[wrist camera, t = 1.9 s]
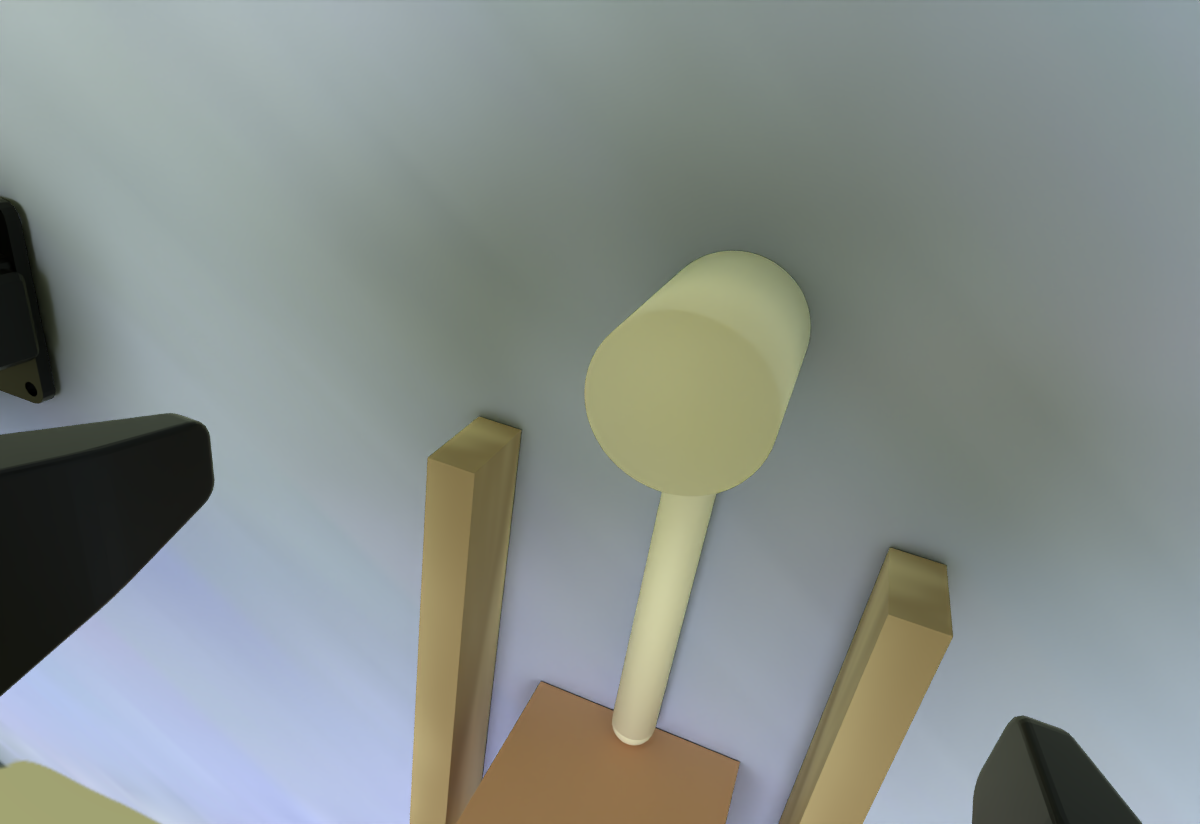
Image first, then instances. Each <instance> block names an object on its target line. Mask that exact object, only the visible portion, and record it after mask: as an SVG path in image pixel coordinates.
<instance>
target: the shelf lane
mask: <svg viewBox="0 0 1200 824" xmlns="http://www.w3.org/2000/svg"><path fill="white" fill-rule="evenodd" d="M520 439H521V430H520V429H517V428H514V427H510V426H507V425H504V424H501V423H498V422H495V421H492V420H488V419H485V418H482V417H478V418H476V419H475V420H474V421H473V422H471V423H470V424H469V425H468V426H466V427H465V428H464V429H463V430H461V431H460V432H459V433H458V434H456V435H455V436H454V437H453V438H452V439H450V440H449V441H448V442H447V443H445V444H444V445H443V446H442V447H440V448H439V449H438V450H437V451H435V452H434V453H433V454H432V455H430V456H429V457H428V462H427V482H426V502H425V523H424V543H423V564H422V584H421V604H420V625H419V645H418V665H417V686H416V706H415V727H414V747H413V767H412V788H411V808H410V824H456V823H457V821H458V820H459V818H460V816H461V815H462V813H463V811H464V810H465V808H466V806H467V805H468V803H469V801H470V799H471V798H472V796H473V794H474V793H475V791H476V789H477V788H478V786H479V784H480V783H481V781H482V774H483V765H484V756H485V747H486V738H487V730H488V721H489V712H490V703H491V694H492V685H493V677H494V668H495V659H496V650H497V641H498V633H499V624H500V615H501V606H502V597H503V589H504V580H505V571H506V562H507V553H508V544H509V536H510V527H511V518H512V509H513V500H514V492H515V483H516V474H517V465H518V456H519V447H520ZM952 638H953V631H952V620H951V609H950V598H949V587H948V576H947V565H944V564H941V563H937V562H934V561H931V560H928V559H925V558H922V557H919V556H915V555H912V554H909V553H906V552H903V551H900V550H897V549H893V548H889V551H888V553H887V555H886V558H885V560H884V563H883V565H882V568H881V570H880V573H879V575H878V578H877V580H876V583H875V585H874V588H873V590H872V593H871V595H870V598H869V600H868V603H867V605H866V608H865V610H864V613H863V615H862V618H861V620H860V623H859V625H858V627H857V630H856V632H855V635H854V637H853V640H852V642H851V645H850V647H849V650H848V652H847V655H846V657H845V660H844V662H843V665H842V667H841V670H840V672H839V675H838V677H837V680H836V682H835V685H834V687H833V690H832V692H831V695H830V697H829V699H828V702H827V704H826V707H825V709H824V712H823V714H822V717H821V719H820V722H819V724H818V727H817V729H816V732H815V734H814V737H813V739H812V742H811V744H810V747H809V749H808V752H807V754H806V757H805V759H804V762H803V764H802V767H801V769H800V771H799V774H798V776H797V779H796V781H795V784H794V786H793V789H792V791H791V794H790V796H789V799H788V801H787V804H786V806H785V809H784V811H783V814H782V816H781V819H780V821H779V824H863V822H864V820H865V818H866V815H867V813H868V811H869V809H870V807H871V805H872V803H873V801H874V799H875V797H876V795H877V793H878V791H879V789H880V787H881V784H882V782H883V780H884V778H885V776H886V774H887V772H888V770H889V768H890V766H891V764H892V762H893V760H894V758H895V755H896V753H897V751H898V749H899V747H900V745H901V743H902V741H903V739H904V737H905V735H906V733H907V731H908V729H909V727H910V724H911V722H912V720H913V718H914V716H915V714H916V712H917V710H918V708H919V706H920V704H921V702H922V700H923V698H924V695H925V693H926V691H927V689H928V687H929V685H930V683H931V681H932V679H933V677H934V675H935V673H936V671H937V669H938V667H939V664H940V662H941V660H942V658H943V656H944V654H945V652H946V650H947V648H948V646H949V644H950V642H951V640H952Z"/></svg>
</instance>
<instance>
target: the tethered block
mask: <svg viewBox="0 0 1200 824" xmlns="http://www.w3.org/2000/svg"><path fill="white" fill-rule="evenodd" d="M810 332H811V321H810V313H809V308H808V305H807V302H806V299H805V297H804V295H803V293H802V291H801V289H800V288H799V286H798V285H797V283H796V282H795V280H794V279H793V278H792V277H791V276H790V275H789V274H788V273H787V272H786V271H785V270H784V269H782V268H781V267H780V266H779V265H777V264H776V263H774V262H772V261H771V260H769V259H767V258H764V257H762V256H760V255H757V254H753V253H750V252H744V251H721V252H716V253H712V254H708V255H706V256H703V257H700V258H699V259H697V260H695V261H693V262H691V263H690V264H689V265H687V266H686V267H685V268H683V269H682V270H681V271H680V272H679V273H678V274H677V275H676V276H674V277H673V278H672V279H671V280H670V281H669V282H668V283H667V284H665V285H664V286H663V287H662V288H661V289H660V290H659V291H658V292H656V293H655V294H654V295H653V296H652V297H651V298H650V299H649V300H647V301H646V302H645V303H644V304H643V305H642V306H641V307H640V308H638V309H637V310H636V311H635V312H634V313H633V314H632V315H631V316H629V317H628V318H627V319H626V320H625V321H624V322H623V323H621V324H620V325H619V326H618V327H617V328H616V329H615V330H614V331H613V332H612V333H610V334H609V335H608V336H607V337H606V338H605V339H604V341H603V342H602V343H601V345H600V346H599V347H598V349H597V350H596V352H595V354H594V356H593V358H592V360H591V363H590V365H589V368H588V371H587V376H586V380H585V391H584V394H585V406H586V412H587V417H588V420H589V423H590V426H591V429H592V431H593V433H594V435H595V437H596V439H597V441H598V442H599V444H600V446H601V447H602V449H603V450H604V451H605V453H606V454H607V455H608V457H609V458H610V459H611V460H612V461H613V462H614V463H615V464H616V465H617V466H618V467H619V468H620V469H621V470H623V471H624V472H625V473H626V474H627V475H629V476H630V477H632V478H633V479H635V480H636V481H638V482H640V483H642V484H644V485H646V486H648V487H650V488H653V489H655V490H658V491H661V492H662V494H661V498H660V503H659V508H658V512H657V517H656V521H655V526H654V530H653V535H652V539H651V544H650V548H649V553H648V557H647V562H646V566H645V571H644V576H643V580H642V585H641V589H640V594H639V598H638V603H637V607H636V612H635V616H634V621H633V625H632V630H631V634H630V639H629V644H628V648H627V653H626V657H625V662H624V666H623V671H622V675H621V680H620V684H619V689H618V693H617V698H616V702H615V707H614V711H613V710H610V709H608V708H605V707H603V706H600V705H598V704H595V703H593V702H590V701H588V700H586V699H583V698H581V697H578V696H576V695H573V694H571V693H568V692H566V691H563V690H561V689H559V688H556V687H554V686H551V685H549V684H546V683H544V682H540V684H539V685H538V687H537V689H536V690H535V692H534V694H533V695H532V697H531V699H530V700H529V702H528V704H527V705H526V707H525V709H524V710H523V712H522V714H521V715H520V717H519V719H518V721H517V722H516V724H515V726H514V727H513V729H512V731H511V732H510V734H509V736H508V737H507V739H506V741H505V742H504V744H503V746H502V747H501V749H500V751H499V752H498V754H497V756H496V757H495V759H494V761H493V763H492V764H491V766H490V768H489V769H488V771H487V773H486V774H485V776H484V778H483V779H482V781H481V783H480V784H479V786H478V788H477V789H476V791H475V793H474V794H473V796H472V798H471V799H470V801H469V803H468V805H467V806H466V808H465V810H464V811H463V813H462V815H461V816H460V818H459V820H458V821H457V823H456V824H725V823H726V819H727V815H728V811H729V806H730V802H731V798H732V794H733V789H734V785H735V781H736V777H737V772H738V768H739V764H740V762H738V761H735V760H733V759H730V758H728V757H725V756H723V755H721V754H718V753H716V752H713V751H711V750H708V749H706V748H703V747H701V746H698V745H696V744H694V743H691V742H689V741H686V740H684V739H681V738H679V737H676V736H674V735H671V734H669V733H667V732H664V731H662V730H659V729H657V728H655V727H656V723H657V719H658V716H659V712H660V708H661V704H662V700H663V696H664V692H665V689H666V685H667V681H668V677H669V673H670V669H671V666H672V662H673V658H674V654H675V650H676V646H677V643H678V639H679V635H680V631H681V627H682V623H683V620H684V616H685V612H686V608H687V604H688V600H689V597H690V593H691V589H692V585H693V581H694V577H695V573H696V570H697V566H698V562H699V558H700V554H701V550H702V547H703V543H704V539H705V535H706V531H707V527H708V524H709V520H710V516H711V512H712V508H713V504H714V501H715V497H716V493H720V492H723V491H725V490H728V489H731V488H733V487H735V486H737V485H739V484H740V483H742V482H743V481H745V480H746V479H748V478H749V477H750V476H752V475H753V474H754V473H755V472H756V471H757V470H758V469H759V468H760V467H761V465H762V464H763V463H764V461H765V460H766V459H767V457H768V455H769V454H770V452H771V450H772V448H773V445H774V443H775V440H776V437H777V435H778V432H779V429H780V426H781V423H782V420H783V417H784V414H785V412H786V409H787V406H788V403H789V400H790V397H791V394H792V391H793V388H794V385H795V383H796V380H797V377H798V374H799V371H800V368H801V365H802V362H803V359H804V357H805V354H806V351H807V348H808V344H809V340H810Z"/></svg>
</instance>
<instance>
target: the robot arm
mask: <svg viewBox="0 0 1200 824" xmlns="http://www.w3.org/2000/svg"><path fill="white" fill-rule="evenodd" d="M0 390H1V391H4V392H6V393H9V394H12V395H14V396H17V397H20V398H22V399H25V400H28V401H30V402H33V403H38V404H39V403H41V402H44V401H47V400H49V399H51V398H53V397H54V395H55V387H54V382H53V377H52V372H51V367H50V363H49V358H48V353H47V348H46V343H45V338H44V333H43V329H42V324H41V319H40V314H39V309H38V304H37V299H36V295H35V290H34V285H33V280H32V275H31V270H30V265H29V260H28V256H27V251H26V246H25V241H24V236H23V231H22V226H21V222H20V218H19V215H18V212H17V211H16V209H15V208H14V206H13V205H12V204H11V203H10V202H9V201H7V200H5V199H2V198H0ZM213 487H214V472H213V462H212V452H211V442H210V435H209V432H208V430H207V428H206V426H205V425H203V424H202V423H201V422H199V421H196V420H193V419H190V418H188V417H185V416H182V415H179V414H173V413H166V414H158V415H151V416H143V417H135V418H127V419H119V420H112V421H104V422H96V423H88V424H80V425H73V426H65V427H57V428H49V429H42V430H34V431H26V432H18V433H10V434H3V435H0V696H2V695H3V694H4V693H5V692H6V691H7V690H8V689H10V688H11V687H12V686H13V685H14V684H15V683H17V682H18V681H19V680H20V679H21V678H22V677H23V676H25V675H26V674H27V673H28V672H29V671H30V670H31V669H33V668H34V667H35V666H36V665H37V664H38V663H39V662H41V661H42V660H43V659H44V658H45V657H46V656H47V655H49V654H50V653H51V652H52V651H53V650H54V649H56V648H57V647H58V646H59V645H60V644H61V643H62V642H64V641H65V640H66V639H67V638H68V637H69V636H70V635H72V634H73V633H74V632H75V631H76V630H77V629H78V628H80V627H81V626H82V625H83V624H84V623H85V622H86V621H88V620H89V619H90V618H91V617H92V616H93V615H95V614H96V613H97V612H98V611H99V610H100V609H101V608H102V607H103V606H105V605H106V604H107V603H108V602H109V601H110V600H111V599H112V598H113V597H114V596H115V595H116V594H117V593H118V592H119V591H120V590H121V589H123V588H124V587H125V586H126V585H127V584H128V583H129V582H130V581H131V580H132V579H133V577H134V576H135V575H136V574H137V573H138V572H139V571H140V570H141V569H142V568H143V567H144V566H145V565H146V564H147V563H148V562H149V561H150V560H151V559H152V558H153V557H154V556H155V555H156V554H157V553H158V552H159V551H160V549H161V548H162V547H163V546H164V545H165V544H166V543H167V542H168V541H169V540H170V539H171V538H172V537H173V536H174V535H175V534H176V533H177V532H178V531H179V530H180V529H181V528H182V527H183V526H184V525H185V524H186V523H187V521H188V520H189V519H190V518H191V517H192V516H193V515H194V514H195V513H196V512H197V511H198V510H199V509H200V508H201V507H202V506H203V505H204V504H205V503H206V501H207V500H208V499H209V497H210V495H211V493H212V491H213ZM972 824H1142V822H1141V821H1140V820H1139V819H1138V817H1137V816H1136V815H1135V814H1134V813H1133V811H1132V810H1131V809H1130V808H1129V806H1128V805H1127V804H1126V803H1125V801H1124V800H1123V799H1122V798H1121V796H1120V795H1119V794H1118V793H1117V791H1116V790H1115V789H1114V788H1113V786H1112V785H1111V784H1110V783H1109V781H1108V780H1107V779H1106V778H1105V777H1104V775H1103V774H1102V773H1101V772H1100V770H1099V769H1098V768H1097V767H1096V765H1095V764H1094V763H1093V762H1092V760H1091V759H1090V758H1089V757H1088V755H1087V754H1086V753H1085V752H1084V750H1083V749H1082V748H1081V747H1080V745H1079V744H1078V743H1077V742H1076V741H1075V739H1074V738H1073V737H1072V736H1071V735H1070V734H1069V733H1067V732H1066V731H1064V730H1063V729H1060V728H1058V727H1055V726H1052V725H1049V724H1047V723H1044V722H1041V721H1038V720H1035V719H1032V718H1030V717H1027V716H1017V717H1014V718H1013V719H1012V720H1011V721H1010V722H1009V723H1008V725H1007V726H1006V728H1005V729H1004V731H1003V733H1002V735H1001V736H1000V738H999V740H998V742H997V743H996V745H995V747H994V749H993V750H992V752H991V754H990V756H989V757H988V759H987V761H986V763H985V764H984V766H983V768H982V770H981V772H980V774H979V776H978V779H977V782H976V786H975V790H974V796H973V814H972Z"/></svg>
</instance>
